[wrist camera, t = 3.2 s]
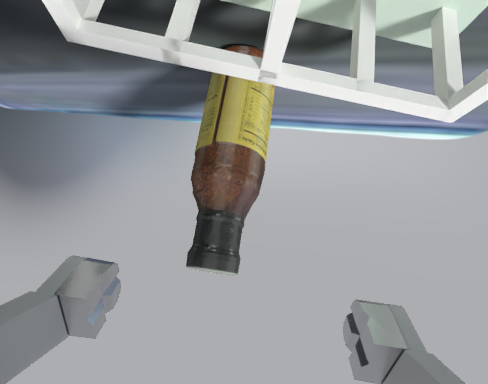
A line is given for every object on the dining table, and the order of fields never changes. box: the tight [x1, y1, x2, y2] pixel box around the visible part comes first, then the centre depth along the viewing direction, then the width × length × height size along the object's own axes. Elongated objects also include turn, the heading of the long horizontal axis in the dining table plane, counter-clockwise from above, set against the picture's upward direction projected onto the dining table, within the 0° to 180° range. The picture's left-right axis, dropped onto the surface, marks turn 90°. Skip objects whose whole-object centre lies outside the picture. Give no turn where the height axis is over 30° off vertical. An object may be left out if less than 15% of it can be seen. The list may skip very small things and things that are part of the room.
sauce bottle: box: [186, 45, 275, 275], centre depth 24 cm, size 6×6×20 cm
